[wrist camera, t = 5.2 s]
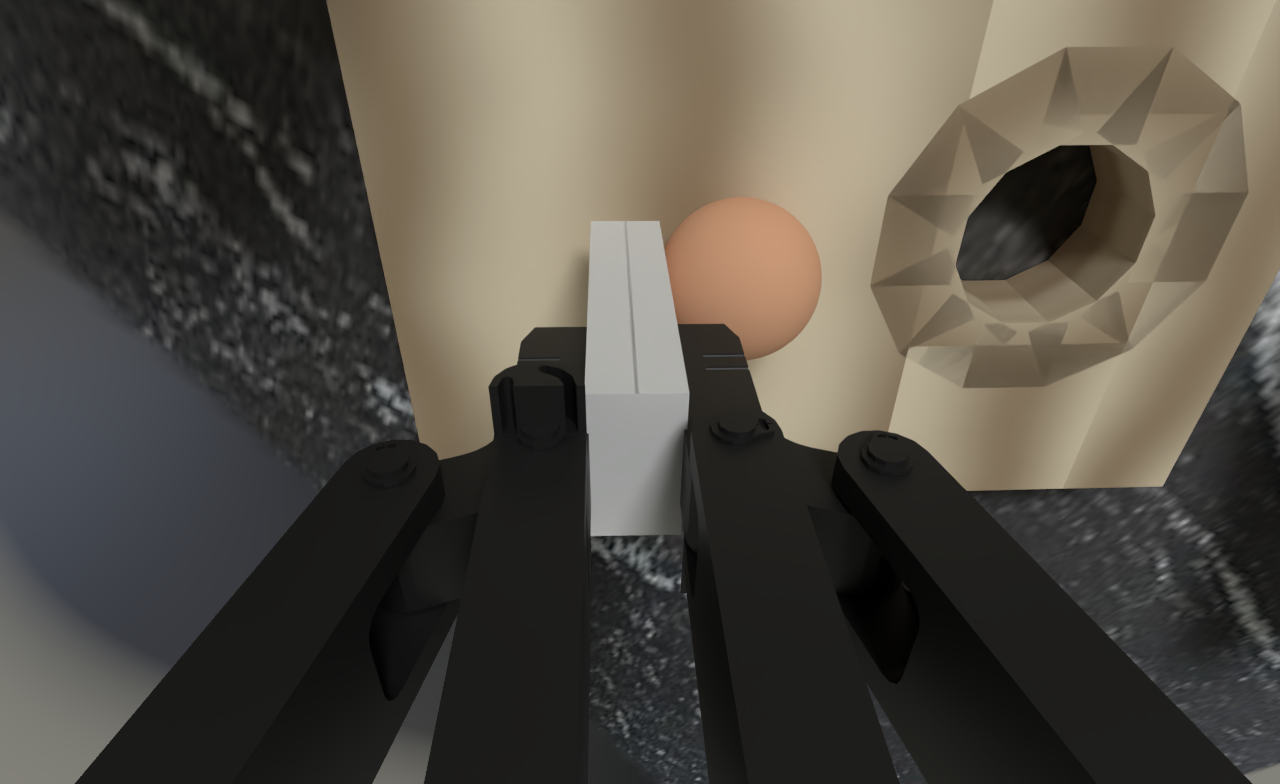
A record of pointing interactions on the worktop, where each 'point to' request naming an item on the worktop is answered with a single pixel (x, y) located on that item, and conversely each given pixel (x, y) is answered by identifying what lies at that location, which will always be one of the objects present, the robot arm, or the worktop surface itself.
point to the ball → (745, 272)
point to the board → (841, 202)
